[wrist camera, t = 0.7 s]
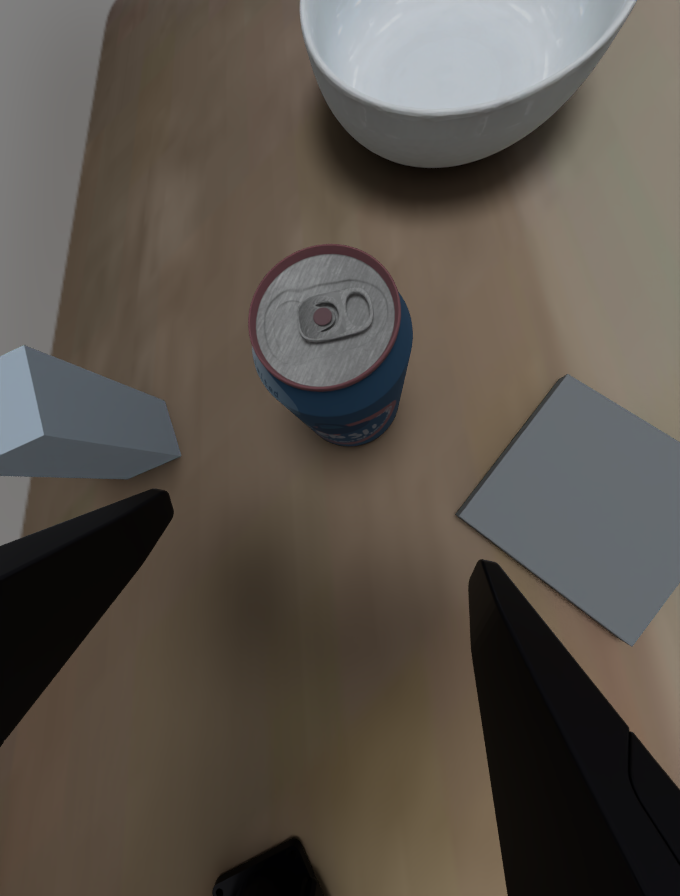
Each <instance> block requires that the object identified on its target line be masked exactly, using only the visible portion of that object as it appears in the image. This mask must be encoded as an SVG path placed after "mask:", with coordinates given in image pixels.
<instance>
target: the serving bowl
mask: <svg viewBox="0 0 680 896" xmlns="http://www.w3.org/2000/svg"><path fill="white" fill-rule="evenodd" d="M636 2H637V0H300V21H301V29H302V34H303V38H304V42H305V46H306V49H307V52H308V56H309V59H310V62H311V66H312V69H313V72H314V75H315V77H316V80H317V83H318V85H319V88H320V90H321V92H322V95H323V97H324V99H325V100H326V102H327V104H328V106H329V108H330V109H331V111H332V113H333V114H334V116H335V117H336V119H337V120H338V121H339V122H340V124H341V125H342V126H343V127H344V129H345V130H346V131H347V132H348V133H349V134H350V135H351V136H352V137H353V138H354V139H355V140H357V141H358V142H359V143H360V144H361V145H363V146H364V147H366V148H367V149H368V150H370V151H372V152H373V153H375V154H377V155H379V156H381V157H383V158H386V159H388V160H390V161H393V162H396V163H399V164H403V165H408V166H413V167H422V168H442V167H452V166H458V165H462V164H466V163H470V162H474V161H477V160H480V159H483V158H485V157H488V156H490V155H493V154H495V153H497V152H499V151H501V150H503V149H505V148H507V147H509V146H511V145H512V144H514V143H516V142H517V141H519V140H520V139H522V138H524V137H525V136H527V135H528V134H529V133H531V132H532V131H534V130H535V129H536V128H538V127H539V126H540V125H541V124H543V123H544V122H545V121H546V120H547V119H548V118H550V117H551V116H552V115H553V114H554V113H555V112H556V111H557V110H558V109H559V108H560V107H561V106H562V105H563V104H564V103H565V102H566V101H567V100H568V99H569V98H570V97H571V96H572V95H573V94H574V93H575V91H576V90H577V89H578V88H579V87H580V85H581V84H582V83H583V82H584V81H585V79H586V78H587V77H588V76H589V74H590V73H591V72H592V70H593V69H594V68H595V66H596V65H597V63H598V62H599V61H600V59H601V58H602V56H603V55H604V53H605V52H606V51H607V49H608V48H609V46H610V44H611V43H612V41H613V40H614V38H615V36H616V35H617V33H618V32H619V30H620V29H621V27H622V25H623V24H624V22H625V21H626V19H627V17H628V16H629V14H630V13H631V11H632V9H633V7H634V5H635V4H636Z"/></svg>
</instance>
